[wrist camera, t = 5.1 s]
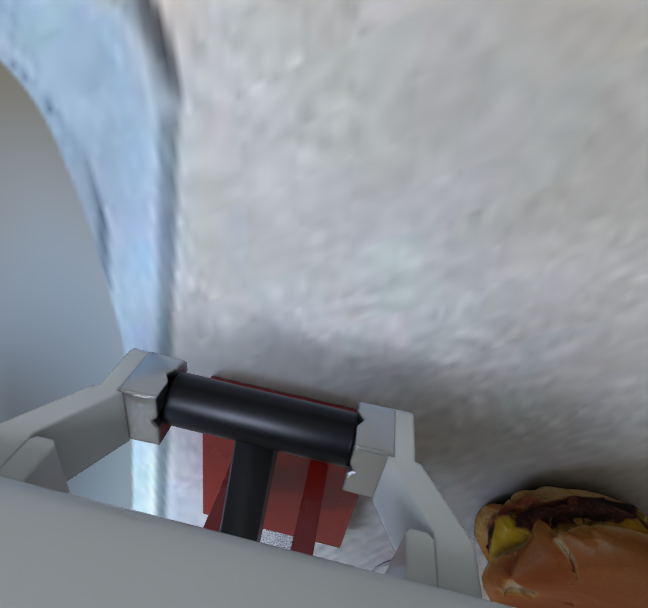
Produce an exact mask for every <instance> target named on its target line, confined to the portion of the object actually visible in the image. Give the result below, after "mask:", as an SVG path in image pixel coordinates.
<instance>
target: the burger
mask: <svg viewBox="0 0 648 608" xmlns="http://www.w3.org/2000/svg"><path fill="white" fill-rule="evenodd" d="M474 534H475V536H476V538H477V541H478V543H479V546H480V548H481V550H482V552H483V553H484V555H485V557H486V559H487V560H488V564H487V566H486V568H485V570H484V571H483V575H482V582H483V587H484V589H485V591H486V593H487V594H488V596H489V598H490V600H491V601H492V602H496V603H500V604H504V605H508V606H512V607H516V608H648V519H647V517H646V516H645V515H644V514H643V513H642V512H641V511H640V510H639V509H638V508H637V507H635V506H634V505H633V504H630V503H627V502H623V501H619V500H615V499H612V498H610V497H608V496H605V495H602V494H598V493H595V492H591V491H587V490H576V489H563V488H557V487H549V486H544V487H541V488H538V489H537V490H521V491H518V492H516V493H514V494H513V495H512V497H511V500H509V499H508V500H507V501H506V503H505V504H504V505H500V504H494V503H491V504H488V505H485V506H484V507H483V508H482V509H481V510H480V511H479V512H478V514H477V516H476V519H475V527H474Z"/></svg>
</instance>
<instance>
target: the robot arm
mask: <svg viewBox="0 0 648 608" xmlns="http://www.w3.org/2000/svg"><path fill="white" fill-rule="evenodd" d="M184 372H185V373H186V372H187V362H185V361H184V360H180V359H176V358H172V357H169V356H165V355H161V354H157V353H153V352H148V351H144V350H140V349H137V348H134V349H132V350H130V351H129V352H128V353H127V354H126V356H125V357H124V358H123V359H122V360H121V361H120V362H119V363H118V364H117V366H116V367H115V368H114V369H113V370H112V371H111V372H110V373H109V375H108V376H107V377H106V378H105V379H104V380H103V381H102V382H101V383H100V384H99V386H95V385H92V386H90V387H87V388H85V389H82V390H80V391H77V392H75V393H73V394H70V395H68V396H65V397H63V398H61V399H58V400H56V401H53V402H51V403H48V404H46V405H44V406H41V407H39V408H36V409H34V410H32V411H29V412H27V413H25V414H22V415H20V416H17V417H15V418H12V419H10V420H8V421H6V422H3V423H0V608H516V607H512V606H508V605H504V604H500V603H496V602H492V601H489V600H485V599H482V595H481V588H480V581H479V573H478V566H477V559H476V552H475V545H474V542H473V541H472V539H471V538H470V536H469V535H468V533H467V532H466V530H465V529H464V527H463V526H462V524H461V523H460V521H459V520H458V518H457V517H456V515H455V514H454V512H453V511H452V509H451V508H450V507H449V505H448V504H447V502H446V501H445V499H444V498H443V496H442V495H441V493H440V492H439V490H438V489H437V487H436V486H435V484H434V483H433V481H432V480H431V478H430V477H429V475H428V474H427V472H426V471H425V469H424V468H423V466H422V465H421V464H420V463H416V462H415V435H414V415H413V413H410V412H405V411H401V410H396V409H395V410H394V409H392V408H387V407H383V406H378V405H374V404H369V403H365V402H359V405H358V408H357V412H356V413H357V429H356V432H355V437H354V442H353V446H352V451H351V458H350V461H349V463H348V465H347V467H345V471H344V478H343V486H342V490H345V491H348V492H352V493H356V494H359V495H363V496H367V497H370V498H372V501H373V503H374V505H375V508H376V510H377V512H378V515H379V517H380V519H381V521H382V524H383V526H384V528H385V531H386V533H387V535H388V538H389V540H390V542H391V544H392V547H393V549H394V551H395V555H394V557H393V559H392V561H391V563H390V565H389V567H388V569H387V571H386V573H385V574H383V573H379V572H375V571H371V570H367V569H363V568H359V567H355V566H351V565H347V564H343V563H339V562H336V561H332V560H328V559H324V558H320V557H316V556H312V555H308V554H304V553H300V552H296V551H292V550H288V549H284V548H280V547H277V546H273V545H269V544H265V543H261V542H257V541H253V540H249V539H245V538H241V537H237V536H233V535H229V534H225V533H222V532H218V531H214V530H210V529H206V528H202V527H198V526H194V525H190V524H186V523H182V522H178V521H174V520H170V519H166V518H163V517H159V516H155V515H151V514H147V513H143V512H139V511H135V510H131V509H127V508H123V507H119V506H115V505H111V504H107V503H104V502H100V501H95V500H91V499H88V498H84V497H80V496H76V495H72V494H70V491H69V487H68V484H67V481H68V480H70V479H71V478H73V477H74V476H76V475H77V474H79V473H80V472H82V471H83V470H85V469H86V468H88V467H89V466H91V465H92V464H94V463H96V462H97V461H99V460H100V459H102V458H103V457H105V456H106V455H108V454H109V453H111V452H112V451H114V450H115V449H117V448H118V447H120V446H122V445H123V444H125V443H126V442H127V441H129V440H130V439H134V440H139V441H144V442H148V443H153V444H158V445H160V443H161V442H162V440H163V438H164V437H165V435H166V433H167V432H168V430H169V429H170V427H171V425H167V424H166V423H165V422H164V420H163V407H164V403H165V399H166V396H167V393H168V390H169V387H170V385H171V384H172V382H173V380H174V379H175V377H176V376H177V375H178V374H180V373H184ZM129 438H130V439H129Z"/></svg>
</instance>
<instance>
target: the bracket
mask: <svg viewBox="0 0 648 608" xmlns="http://www.w3.org/2000/svg"><path fill="white" fill-rule="evenodd" d="M211 379H215V380H219V381H224V382H228V383H232V384H236V385H241V386H245V387H249V388H254V389H258V390H262V391H266V392H271V393H275V394H279V395H284V396H288V397H292V398H296V399H301V400H305V401H309V402H313V403H318V404H322V405H326V406H331V407H335V408H339V409H343V410H348V411H352V412H355V413H356V412H357V410H355V409H350V408H346V407H342V406H338V405H333V404H329V403H325V402H320V401H316V400H312V399H308V398H303V397H299V396H295V395H290V394H286V393H282V392H278V391H273V390H269V389H265V388H260V387H256V386H252V385H248V384H243V383H239V382H235V381H230V380H226V379H222V378H218V377H213V376H211ZM234 442H235V441H233V440H229V439H225V438H220V437H216V436H212V435H208V434H204V433H203V513H204V514H207V515H208V518H207V520H206V523H205V525H204V527H203V528H206V529H210V530H214V531H218V532H219V531H220V525H221V519H222V513H223V507H224V501H225V496H226V490H227V484H228V478H229V472H230V466H231V460H232V454H233V448H234ZM344 471H345V467H341V466H337V465H333V464H328V463H324V462H320V461H316V460H312V459H308V458H303V457H299V456H295V455H291V454H287V453H283V452H279V451H278V454H277V459H276V464H275V469H274V474H273V479H272V484H271V489H270V494H269V499H268V504H267V510H266V515H265V520H264V525H263V529H267V530H271V531H275V532H279V533H283V534H287V535H290V536H294V537H293V541H292V546H291V550H292V551H296V552H300V553H304V554H308V555H312V556H313V551H314V545H315V542H318V543H322V544H326V545H330V546H334V547H338V548H340V546H341V543H342V540H343V538H344V535H345V532H346V529H347V526H348V523H349V520H350V517H351V514H352V511H353V509H354V506H355V503H356V500H357V497H358V494H356V493H352V492H348V491H345V490H342V486H343V478H344Z"/></svg>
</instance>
